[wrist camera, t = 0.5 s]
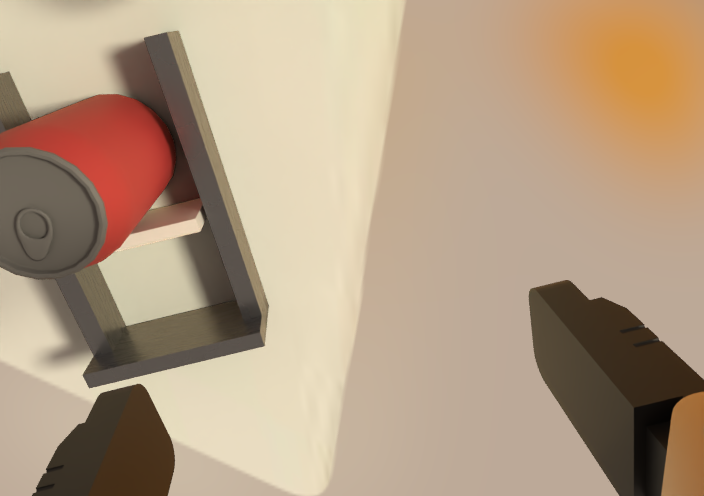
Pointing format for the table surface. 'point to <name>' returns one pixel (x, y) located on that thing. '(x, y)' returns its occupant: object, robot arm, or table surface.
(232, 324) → the lane
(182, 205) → the pusher
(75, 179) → the beer can
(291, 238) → the table surface
